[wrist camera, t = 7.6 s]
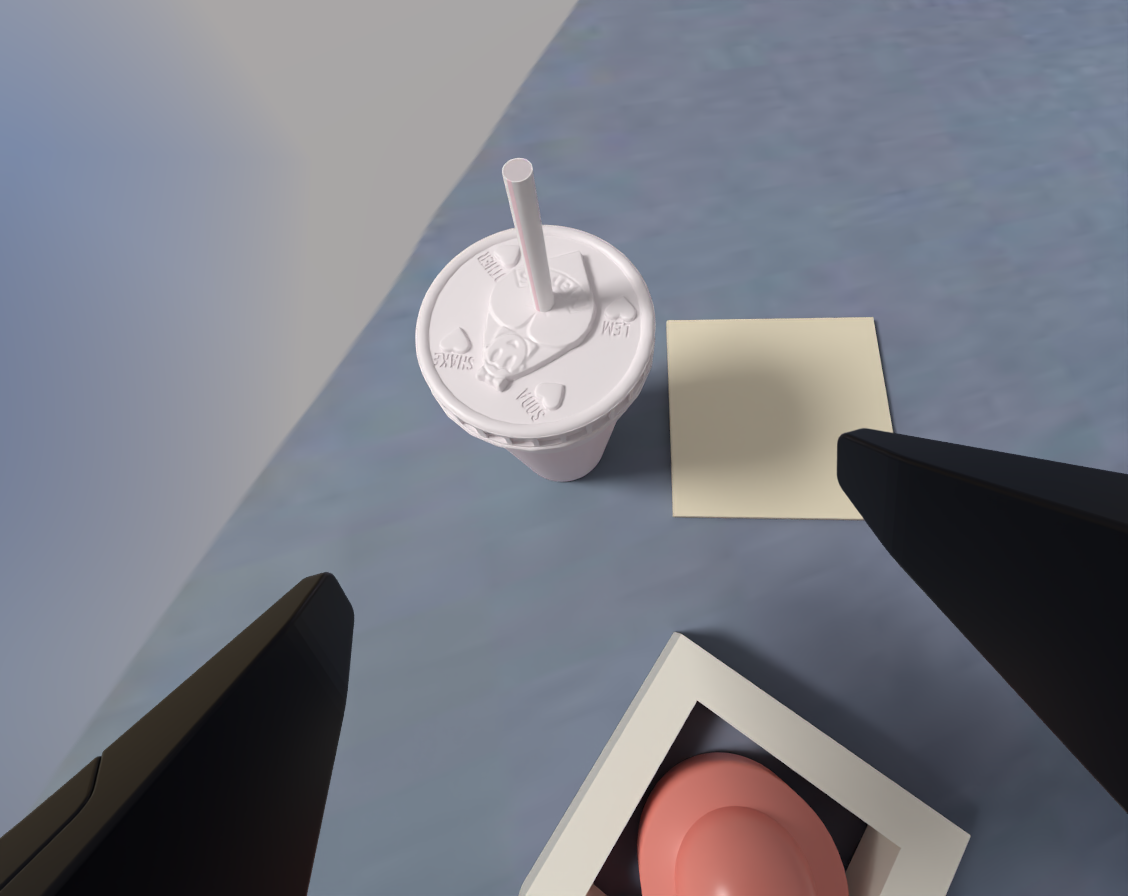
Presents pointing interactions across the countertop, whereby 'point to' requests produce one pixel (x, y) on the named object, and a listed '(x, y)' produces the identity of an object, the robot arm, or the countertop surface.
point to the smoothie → (537, 338)
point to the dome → (733, 834)
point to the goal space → (769, 414)
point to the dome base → (689, 674)
